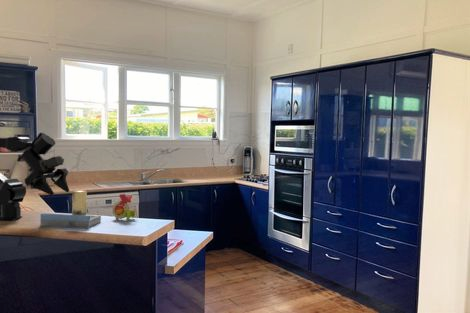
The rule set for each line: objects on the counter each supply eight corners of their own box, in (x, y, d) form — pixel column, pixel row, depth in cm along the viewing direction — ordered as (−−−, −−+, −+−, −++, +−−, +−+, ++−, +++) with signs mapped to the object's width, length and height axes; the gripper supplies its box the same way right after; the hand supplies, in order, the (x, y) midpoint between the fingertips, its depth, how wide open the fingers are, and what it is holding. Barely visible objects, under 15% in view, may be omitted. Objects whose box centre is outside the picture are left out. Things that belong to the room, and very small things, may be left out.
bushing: (69, 224, 143) (69, 191, 143) (78, 222, 148) (79, 190, 148) (79, 226, 142) (80, 192, 141) (89, 223, 146) (89, 191, 146)
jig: (40, 226, 140) (40, 213, 140) (56, 219, 151) (56, 208, 151) (88, 228, 139) (88, 215, 139) (100, 221, 150) (100, 210, 150)
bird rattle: (114, 226, 152) (134, 218, 151) (104, 200, 152) (124, 192, 151) (120, 223, 158) (140, 215, 157) (110, 198, 159) (130, 190, 158)
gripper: (32, 149, 137) (59, 181, 135) (64, 148, 155) (88, 177, 154) (12, 169, 139) (38, 202, 137) (47, 166, 157) (70, 195, 155)
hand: (61, 193), depth 146 cm, fingers open, 9 cm apart
